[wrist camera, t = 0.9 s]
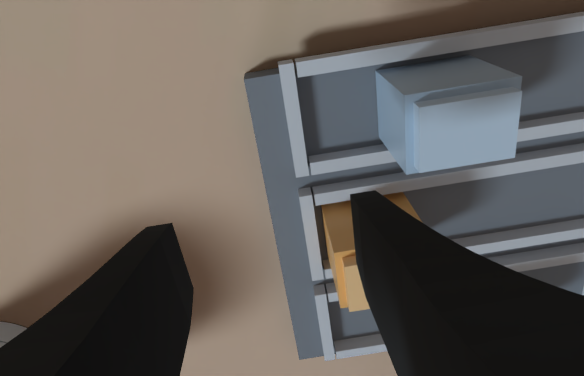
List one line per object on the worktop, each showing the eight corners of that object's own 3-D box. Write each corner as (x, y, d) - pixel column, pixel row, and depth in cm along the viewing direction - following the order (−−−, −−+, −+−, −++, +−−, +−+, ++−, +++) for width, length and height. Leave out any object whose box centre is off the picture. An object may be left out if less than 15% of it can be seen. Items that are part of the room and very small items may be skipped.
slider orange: (403, 241, 22) (436, 303, 18) (327, 253, 22) (343, 318, 18) (402, 191, 20) (437, 245, 16) (320, 204, 20) (336, 262, 16)
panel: (597, 296, 26) (621, 319, 25) (297, 344, 26) (300, 370, 25) (674, -9, 18) (719, -7, 16) (242, 61, 18) (240, 71, 17)
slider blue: (466, 122, 19) (522, 164, 15) (378, 137, 19) (411, 182, 15) (469, 55, 18) (532, 80, 14) (375, 70, 18) (410, 100, 14)
